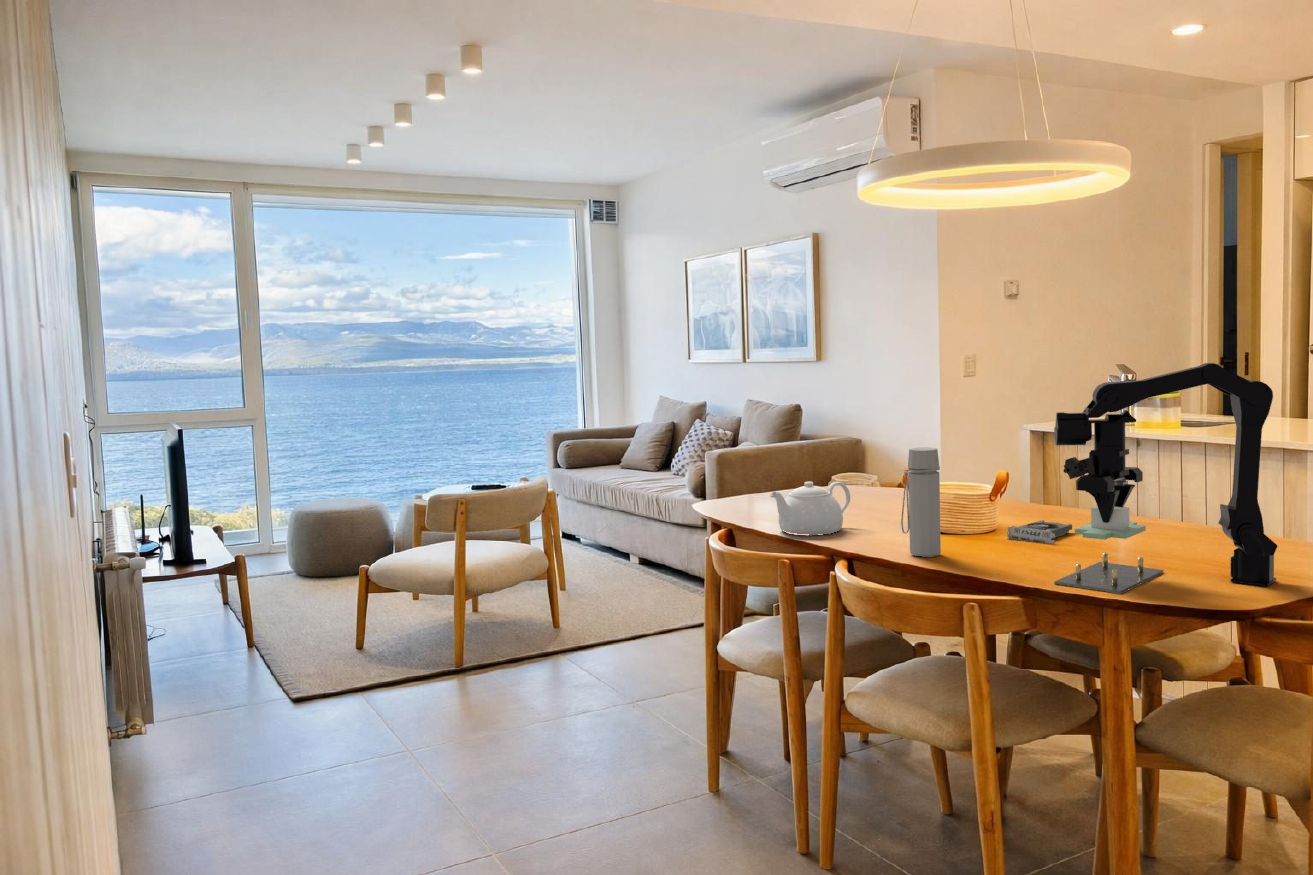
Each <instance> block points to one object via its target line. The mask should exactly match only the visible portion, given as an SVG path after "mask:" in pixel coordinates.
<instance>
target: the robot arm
mask: <svg viewBox="0 0 1313 875" xmlns="http://www.w3.org/2000/svg"><path fill="white" fill-rule="evenodd" d="M1205 385H1209V386H1211V387H1213V388H1214V389H1216V390H1218V391H1219V392H1221V393H1223V394H1224V395H1227V396H1228V397H1230V398H1229V399H1230V405H1231V412H1232V414H1233V418H1234V422H1235V426H1236V429H1235V430H1236V432H1235V444H1234V461H1233V474H1232V475H1233V476H1232V478H1233V479H1232V489H1231V490H1232V493H1231V497H1230V500H1229V501H1228V504H1222V503H1221V504H1220V505H1219V509H1220V517H1219V518H1220V519H1219V521H1218V522H1217V523H1218V525H1220V526H1221V529H1222V531H1223V533H1224V534H1225V536H1227V538H1229V539H1230V540H1232V543H1233V545H1234V547H1236V548H1235V549H1234V550H1233V555H1232V556H1231V557H1230V582H1231V583H1236V584H1243V585H1244V584H1246V585H1252V586H1260V587H1269V586H1270V585H1272V584H1273V583H1275V582H1277V578H1276V577H1275V576H1274V575H1275V553H1276V552H1277V548H1278V544H1277V543H1275V542H1274V541H1273V540H1272V539H1271V538H1269V536H1267V535H1266V534H1265V528H1264V520H1263V515H1262V512H1261V507H1260V505H1259V501H1258V500H1259V498H1258V497H1259V480H1260V479H1259V478H1260V468H1261V467H1260V462H1261V449H1262V448H1261V447H1262V437H1263V436H1262V435H1263V428H1264V425H1265V423H1266V420H1267V418H1268V416H1269V414H1270V410H1271V407H1272V403H1273V399H1274V394H1273V393H1274V391H1273V390H1272V388H1271V387H1270V386H1269V385H1268V384H1267V383H1265V382H1263V381H1260V380H1259V381H1258V380H1252V379H1246V378H1244V377H1243V376H1240V375H1237V374H1235V373H1234V372H1232V371H1229V370H1227V369H1226V368H1223V367H1222V366H1220V365H1219V364H1218V363H1213V362H1204V363H1202V364H1200V365H1197V366H1194V367H1189V368H1185V369H1180V370H1177V371H1173V372H1169V373H1165V374H1160V375H1156V376H1151V377H1148V378H1144V379H1139V380H1135V379H1134V380H1122V381H1121V380H1120V381H1119V380H1118V381H1109V382H1108V381H1107V382H1102V383H1101V384H1098V385H1097V386H1096V387H1095V388H1094V390H1093V393H1092V399H1091V401H1090V402H1089V403H1088V405H1087V406H1086V407H1085V408H1084V410H1083V411H1082V412H1065V411H1062V412H1061V411H1059V412H1055V417H1056V418H1055V426H1054V428H1053V429H1054V432H1053V433H1054V444H1055V446H1059V447H1060V446H1086V444H1087V442H1090V441H1091V440H1092V437H1093V435H1094V438H1093V440H1094V444H1093V445H1094V447H1093V448H1094V449H1091V450H1090V451H1089V453H1088V455H1089V456H1088V457H1086V458H1083V459H1080V460H1079V459H1078V458H1077V457H1075V456H1074V457H1070V458H1067V459H1065V461H1064V464H1063V473H1064V474H1066V475H1068V479H1070V480H1073V479H1075V478H1077V479H1076V480H1075V490H1076V491H1083V492H1085V493H1088V494H1089V495H1091V496H1092V497H1093V499H1094V500H1095V502H1096V506H1098V509H1099V512H1100V515H1101V518H1102V521H1103V522H1104V523H1108V522H1109V521H1110V518H1111V515H1112V512H1113V509H1114V506H1115V507H1125V504H1126V503H1127V501H1128V499H1129V497H1130V495H1131V493H1132V491H1133V490H1134V488H1135V487H1136V484H1133V483H1132V484H1130V483H1129V481H1134V483H1140V482H1143V481H1144V480H1143V478H1144V477H1143V476H1144V475H1143V470H1141V469H1140V468H1139V467H1138V466H1137V467H1135V466H1132V467H1131V466H1126V456H1128V455H1130V449H1129V448H1126V424H1127V423H1137V418H1135V417H1134V416H1133V415H1131V413H1130V412H1129V411H1128V410H1126V408H1129V407H1131V406H1134V405H1136V404H1138V403H1140V402H1141V401H1144V400H1146V399H1150V398H1153V397H1157V396H1161V395H1162V396H1163V395H1166V394H1171V393H1175V392H1179V391H1183V390H1188V389H1192V388H1196V387H1200V386H1205ZM1121 410H1123V412H1121V413H1117V412H1119V411H1121ZM1111 413H1113V414H1111ZM1102 416H1105V417H1104V418H1101V417H1102ZM1096 418H1097V419H1096ZM1099 418H1100V419H1099ZM1092 425H1093V427H1094V428H1093V427H1092ZM1092 428H1093V429H1092Z"/></svg>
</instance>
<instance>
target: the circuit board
mask: <svg viewBox="0 0 1313 875" xmlns="http://www.w3.org/2000/svg"><path fill="white" fill-rule="evenodd" d="M1090 512H1091V513H1090V519H1091V520H1090V523H1087V524H1085V525H1081V526H1079V527H1075V528H1074V534H1075V535H1082V538H1086V539H1093V540H1095V539H1096V540H1104V541H1105V540H1108V539H1111V538H1113V539H1123V540H1126V539H1128V538H1132V537H1133V536H1136V535H1139V534H1141V533H1143V532H1145V531H1147V526H1146V525H1141V524H1138V522H1137V521H1130V507H1126V506H1124V507H1115V506H1114V509H1113V512H1112V515H1111V518H1110V521H1109V522H1108V523H1104V522H1103V521H1102V518H1101V515H1100V512H1099V509H1098V506H1097V505H1095V506H1093V507H1091V508H1090Z"/></svg>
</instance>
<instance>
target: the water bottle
mask: <svg viewBox="0 0 1313 875" xmlns="http://www.w3.org/2000/svg"><path fill="white" fill-rule="evenodd" d="M907 460H908V461H907V468H908V469H904V470H903V474H904V477H905V478H904V486H903V487H904V489H903V498H902V510H901V520H900V523H901V524H900V525H901V531H902V534H908V533H909V553H910V555H912V554H913V555H912V556H914V555H915V556H914V557H916V556H922V557H921V558H935V557H938V556H939V555H940V554H941V551H942V549H941V543H942V542H941V496H940V494H941V493H940V492H941V491H940V490H941V489H940V484H941V483H940V472H939V471H940V469H941V467H940V459H939V451H938V448H937V447H911V448H909V450H908V459H907ZM905 498H906V509H907V510H906V511H907V512H906V513H907V531H905V528H904V523H903V522H904V509H905ZM934 556H935V557H934Z"/></svg>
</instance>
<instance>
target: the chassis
mask: <svg viewBox="0 0 1313 875" xmlns="http://www.w3.org/2000/svg"><path fill="white" fill-rule="evenodd" d="M1108 555H1109V554H1108V552H1102V561H1098V562H1097V563H1093V564H1092V565H1089V566H1087V567H1085V568H1082V565H1081V564H1080V563H1076V564H1075V572H1073V573H1070V574H1068V575H1066V576H1063V577H1061V578H1059V579H1056V580H1055V581H1054V585H1056V584H1061V585H1060V586H1063V585H1067V586H1066V587H1070V586H1073V587H1072V588H1077V587H1078V588H1077V589H1083V590H1090V589H1094V590H1093V591H1097V590H1100V591H1099V592H1104V591H1105V592H1104V593H1112V594H1118V595H1119V594H1121V595H1122V594H1124V593H1125V591H1126V592H1127V590H1128V589H1130V590H1132V589H1134V588H1136V587H1138V586H1139V585H1138V584H1140V583H1142V584H1145V581H1146V582H1147V580H1148V581H1150V580H1151V578H1152V579H1154V578H1156V577H1158V576H1160V575H1161V574H1164V569H1162V568H1161V569H1159V568H1152V567H1151V568H1150V567H1145V566H1144V557H1142V556H1138V557H1137V566H1135V565H1129V564H1128V565H1126V564H1120V563H1112V562H1109V559H1108V558H1109V556H1108ZM1149 579H1150V580H1149ZM1137 585H1138V586H1137ZM1140 585H1141V584H1140ZM1135 586H1136V587H1135ZM1133 587H1134V588H1133ZM1128 591H1129V590H1128ZM1123 592H1124V593H1123Z"/></svg>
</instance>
